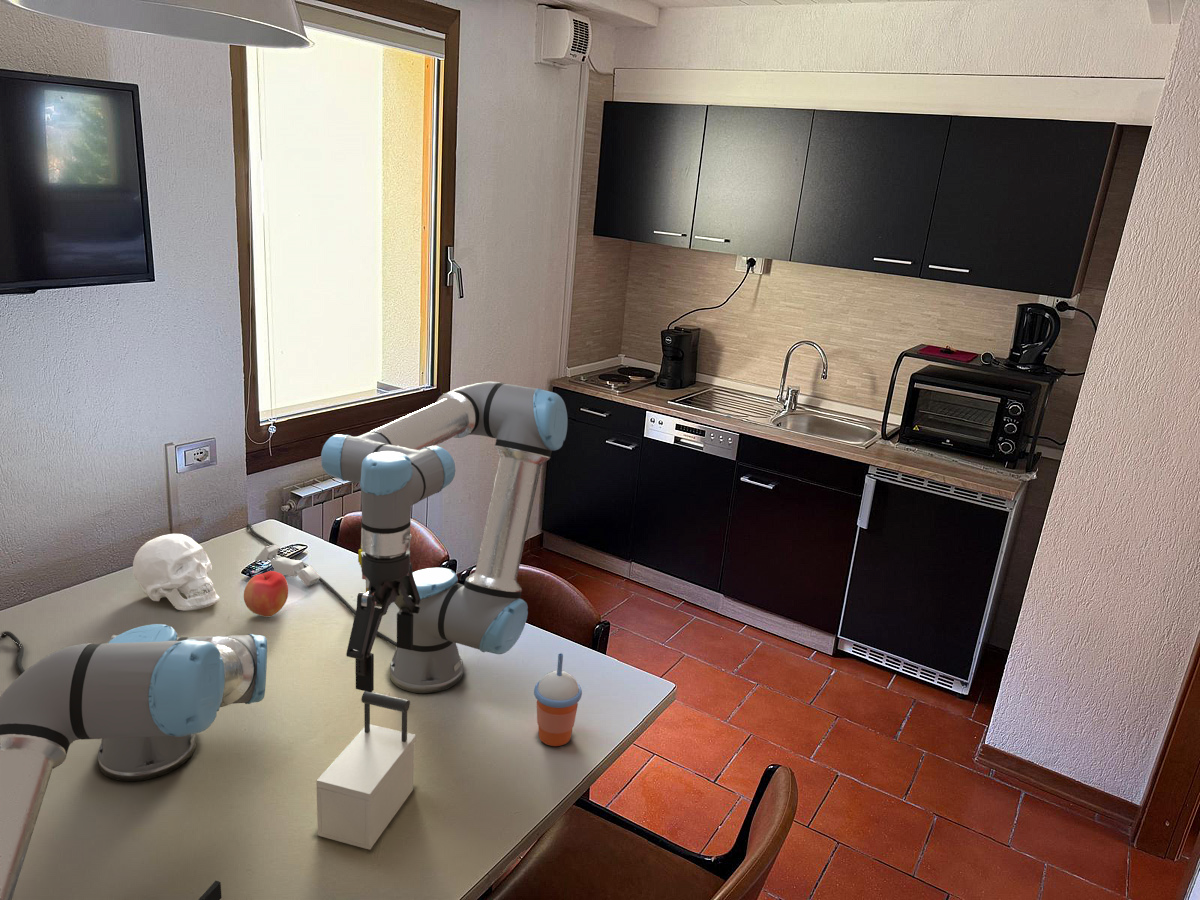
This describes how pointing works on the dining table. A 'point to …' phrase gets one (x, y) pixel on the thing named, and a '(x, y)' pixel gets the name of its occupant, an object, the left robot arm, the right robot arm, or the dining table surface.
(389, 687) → the dining table surface
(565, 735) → the cup with straw
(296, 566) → the clamp
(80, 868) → the dining table surface
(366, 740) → the lid
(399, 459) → the right robot arm
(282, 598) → the apple
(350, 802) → the chest
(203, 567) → the skull
